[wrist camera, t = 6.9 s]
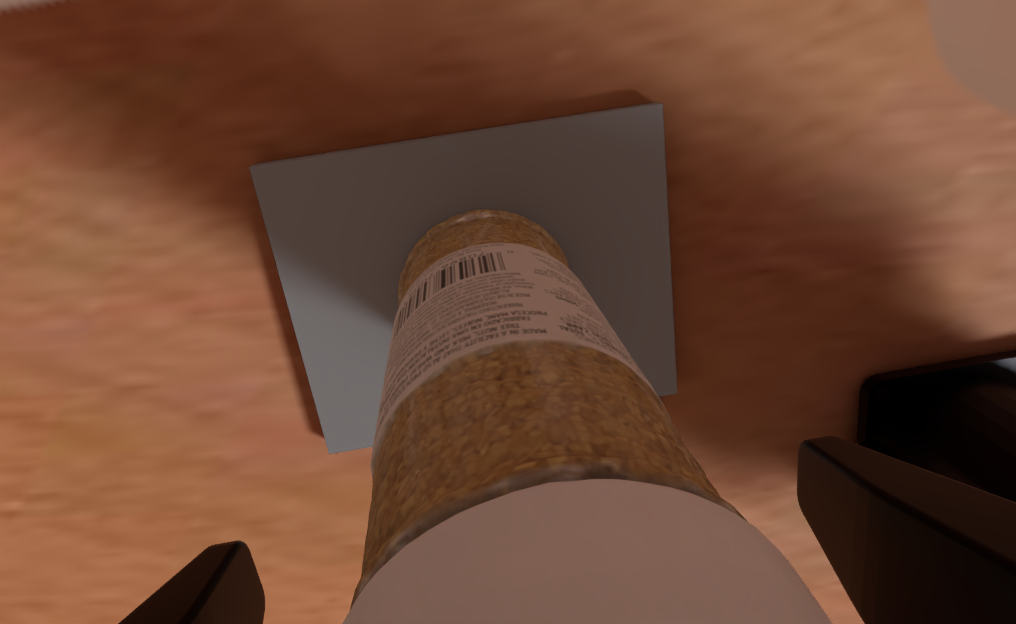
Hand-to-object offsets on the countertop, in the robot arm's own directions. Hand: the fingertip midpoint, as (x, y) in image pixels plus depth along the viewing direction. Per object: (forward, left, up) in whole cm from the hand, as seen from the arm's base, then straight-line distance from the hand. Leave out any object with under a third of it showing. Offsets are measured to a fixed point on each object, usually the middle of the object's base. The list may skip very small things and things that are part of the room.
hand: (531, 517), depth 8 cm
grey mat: (0, 0, -10) cm, 10 cm away
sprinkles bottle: (0, 0, -9) cm, 9 cm away
